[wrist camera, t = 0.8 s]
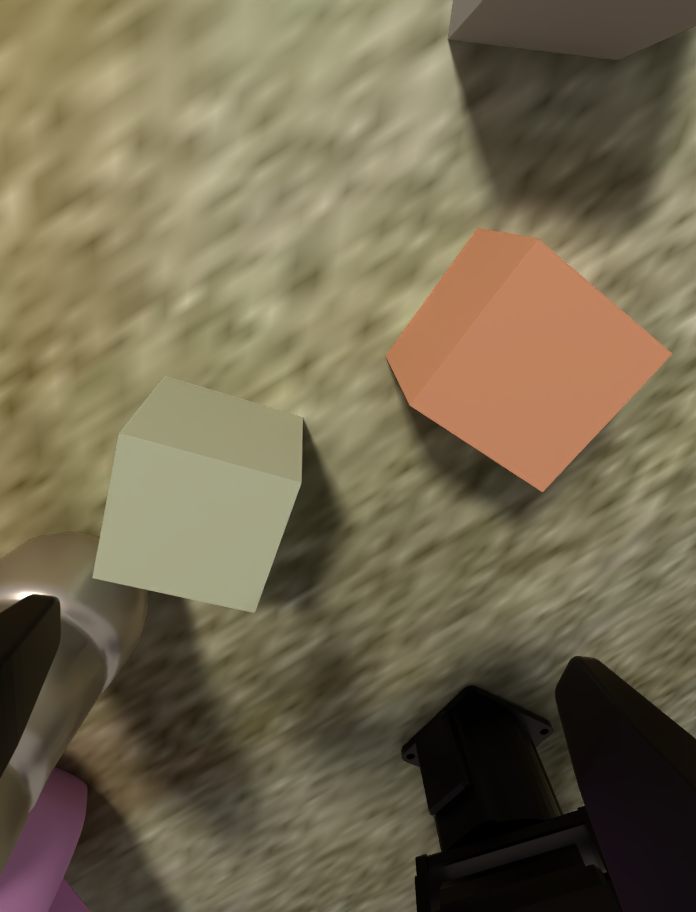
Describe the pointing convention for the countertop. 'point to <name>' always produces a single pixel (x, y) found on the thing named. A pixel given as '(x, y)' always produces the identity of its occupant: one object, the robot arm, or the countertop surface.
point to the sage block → (200, 495)
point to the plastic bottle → (64, 659)
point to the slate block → (571, 24)
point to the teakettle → (47, 850)
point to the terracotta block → (521, 355)
